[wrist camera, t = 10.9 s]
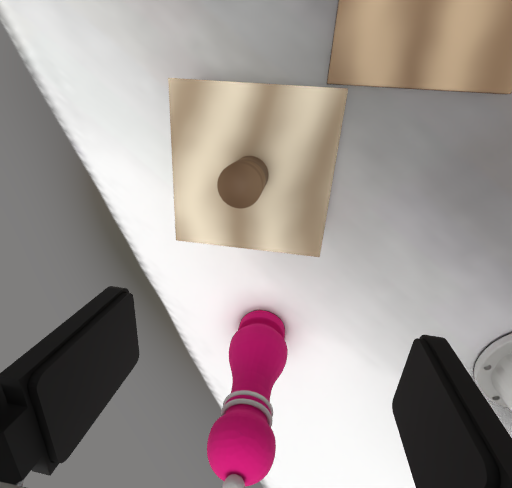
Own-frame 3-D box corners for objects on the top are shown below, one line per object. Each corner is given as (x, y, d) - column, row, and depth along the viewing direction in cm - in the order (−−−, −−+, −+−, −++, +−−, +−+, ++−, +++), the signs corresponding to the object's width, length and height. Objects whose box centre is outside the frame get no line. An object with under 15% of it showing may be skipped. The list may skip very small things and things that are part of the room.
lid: (346, 90, 22) (361, 79, 17) (318, 252, 28) (323, 284, 22) (173, 79, 24) (135, 66, 18) (179, 236, 29) (152, 262, 24)
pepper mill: (226, 327, 41) (167, 493, 22) (260, 296, 38) (224, 458, 20) (264, 357, 42) (237, 538, 24) (299, 329, 39) (300, 511, 21)
